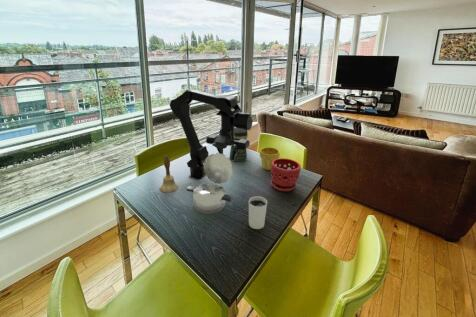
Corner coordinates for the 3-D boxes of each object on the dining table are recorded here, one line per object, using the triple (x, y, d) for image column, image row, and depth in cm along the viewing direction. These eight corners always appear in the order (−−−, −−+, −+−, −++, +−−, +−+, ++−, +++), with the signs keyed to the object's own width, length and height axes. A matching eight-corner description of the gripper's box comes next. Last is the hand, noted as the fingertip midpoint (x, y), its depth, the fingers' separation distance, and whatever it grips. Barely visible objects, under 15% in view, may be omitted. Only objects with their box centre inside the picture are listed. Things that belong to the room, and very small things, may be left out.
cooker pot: (180, 206, 104) (179, 194, 101) (197, 190, 115) (196, 178, 113) (224, 219, 97) (224, 206, 94) (238, 200, 108) (238, 188, 106)
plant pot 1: (277, 172, 132) (279, 155, 128) (257, 170, 134) (258, 153, 130) (278, 164, 141) (280, 148, 137) (260, 162, 143) (261, 146, 139)
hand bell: (182, 185, 119) (179, 154, 112) (170, 194, 112) (167, 161, 105) (168, 181, 122) (164, 150, 115) (156, 189, 115) (151, 157, 108)
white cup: (245, 227, 93) (246, 204, 89) (250, 216, 99) (252, 194, 95) (262, 231, 91) (264, 208, 87) (267, 220, 97) (269, 198, 92)
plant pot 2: (292, 196, 112) (295, 172, 107) (265, 188, 118) (267, 165, 113) (301, 183, 122) (304, 161, 117) (275, 176, 128) (277, 155, 123)
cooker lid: (204, 150, 107) (207, 149, 110) (202, 180, 111) (205, 178, 113) (233, 156, 103) (235, 155, 105) (230, 186, 106) (232, 184, 109)
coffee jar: (231, 162, 142) (231, 130, 134) (228, 156, 149) (228, 126, 141) (248, 161, 144) (249, 129, 136) (244, 155, 151) (245, 125, 143)
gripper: (199, 128, 105) (200, 162, 112) (241, 135, 99) (240, 170, 105) (211, 121, 115) (212, 153, 121) (250, 127, 108) (249, 160, 115)
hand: (227, 159), depth 115 cm, fingers open, 6 cm apart
